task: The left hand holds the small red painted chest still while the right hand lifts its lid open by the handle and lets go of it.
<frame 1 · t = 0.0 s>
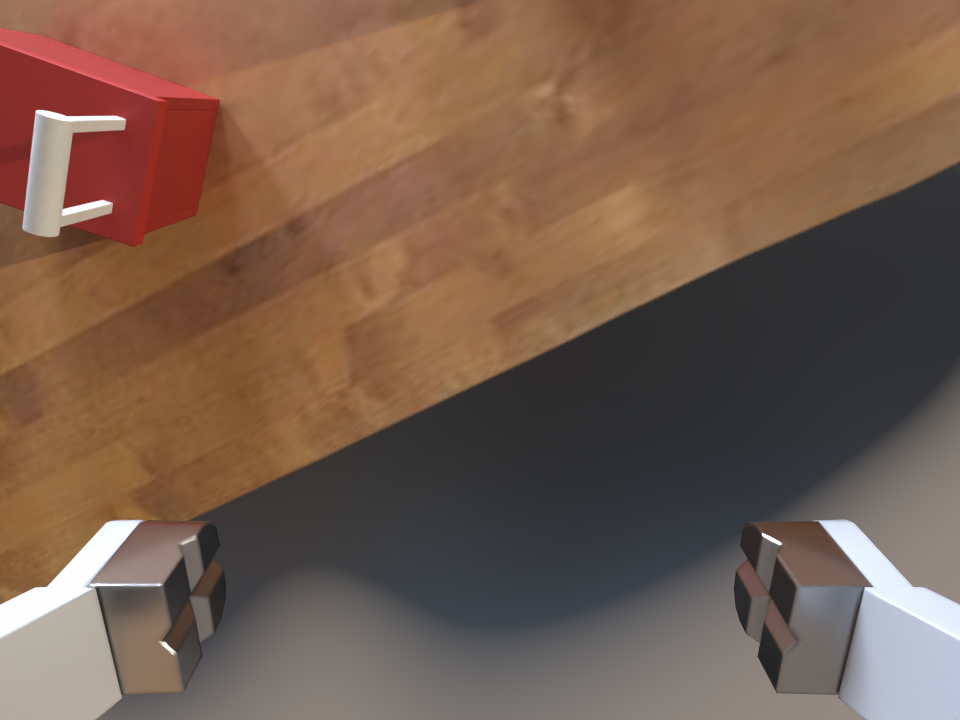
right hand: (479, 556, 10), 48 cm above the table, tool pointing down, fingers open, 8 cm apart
chest: (122, 129, 54), on the table
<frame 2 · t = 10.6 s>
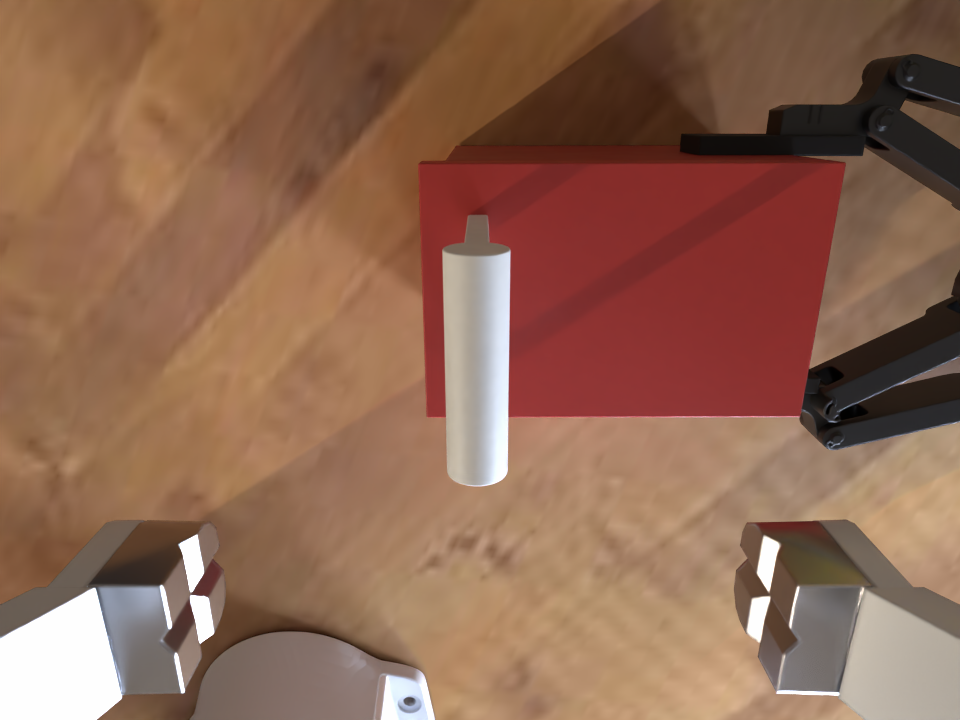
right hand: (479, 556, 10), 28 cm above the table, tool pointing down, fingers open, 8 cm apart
left hand: (677, 266, 30), fingers closed on chest, 9 cm apart
lid: (642, 325, 21), point 16 cm above the table, hinge at 0.0°
chest: (584, 238, 36), on the table, touching left hand
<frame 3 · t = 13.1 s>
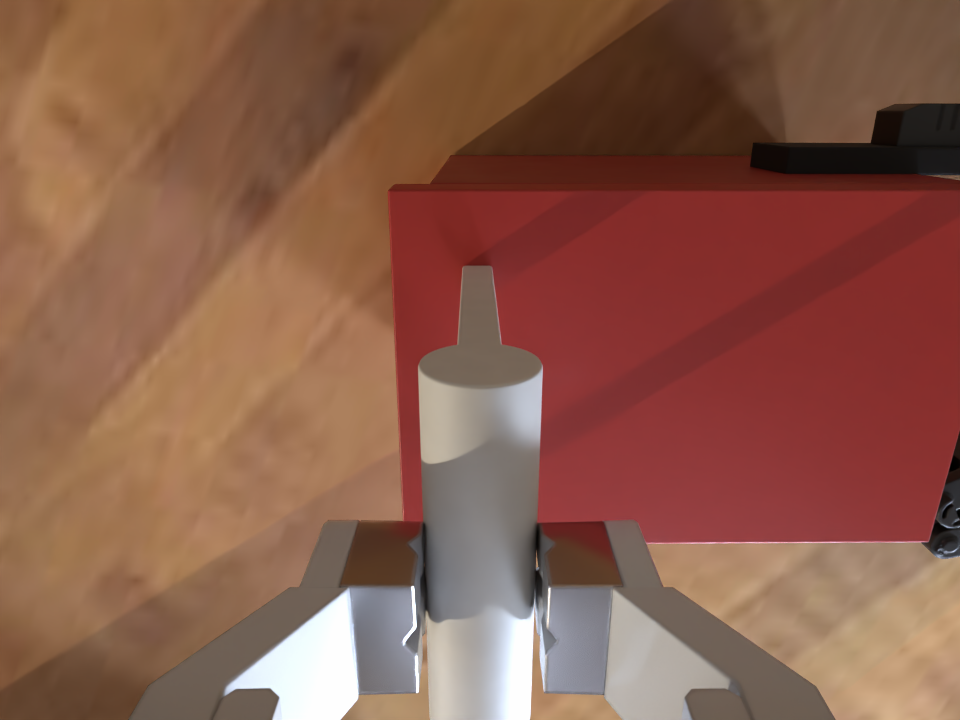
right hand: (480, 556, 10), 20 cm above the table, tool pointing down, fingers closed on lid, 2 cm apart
lid: (733, 444, 14), point 16 cm above the table, hinge at 0.9°, touching right hand
chest: (612, 271, 29), on the table, touching left hand
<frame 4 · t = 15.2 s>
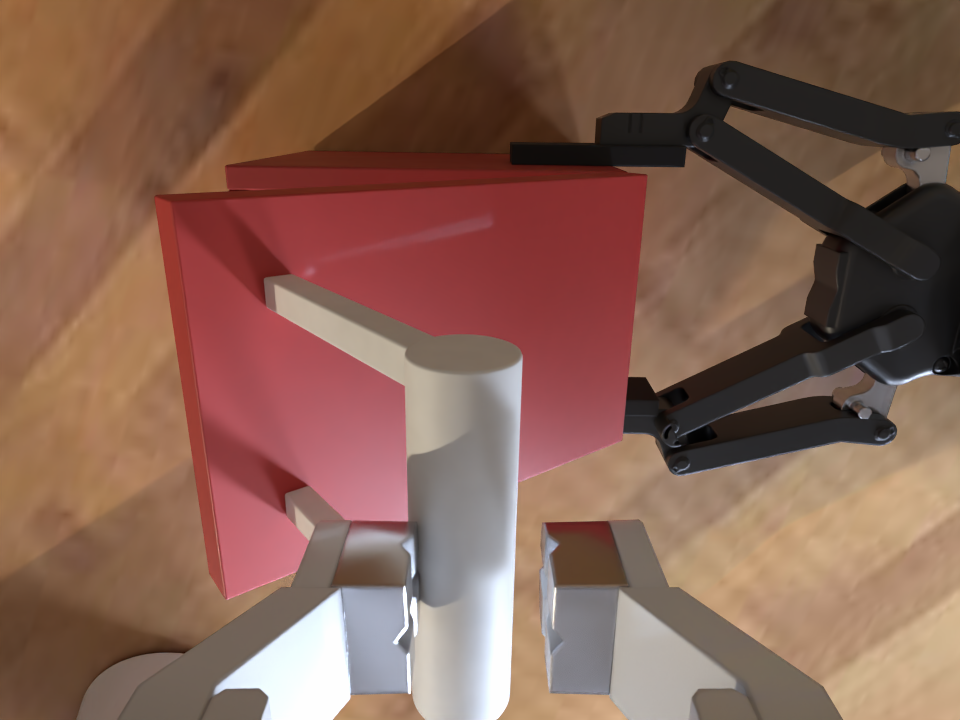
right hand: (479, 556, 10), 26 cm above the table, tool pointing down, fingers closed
left hand: (507, 281, 28), fingers closed on chest, 10 cm apart
lid: (544, 393, 17), point 19 cm above the table, hinge at 38.6°, touching right hand
chest: (445, 248, 35), on the table, touching left hand
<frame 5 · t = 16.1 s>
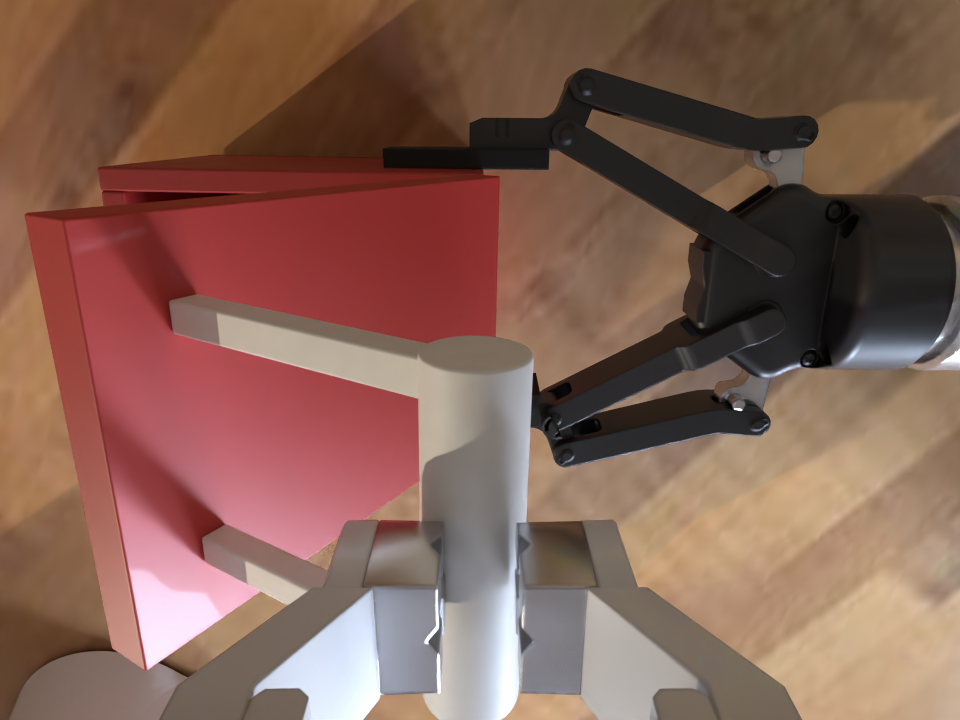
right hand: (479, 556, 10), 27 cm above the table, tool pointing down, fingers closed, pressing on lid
left hand: (392, 280, 29), fingers closed on chest, 10 cm apart
lid: (461, 391, 17), point 20 cm above the table, hinge at 58.0°, touching right hand
chest: (352, 250, 36), on the table, touching left hand
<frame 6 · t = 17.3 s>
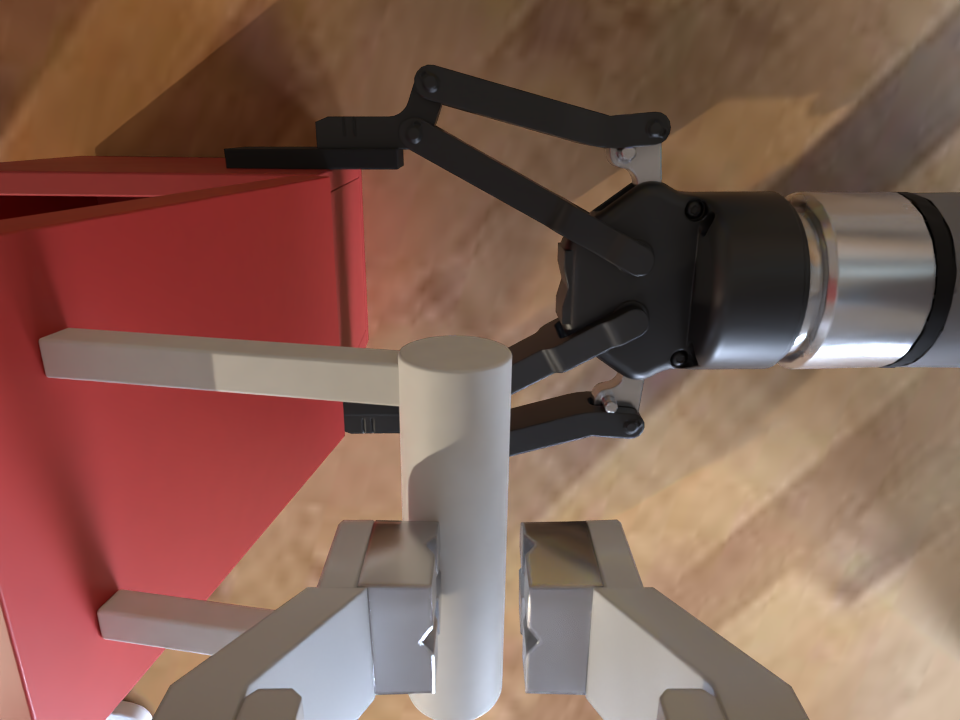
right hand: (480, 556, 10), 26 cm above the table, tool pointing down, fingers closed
left hand: (251, 284, 28), fingers closed on chest, 10 cm apart
lid: (354, 398, 17), point 20 cm above the table, hinge at 78.3°, touching right hand
chest: (232, 252, 35), on the table, touching left hand
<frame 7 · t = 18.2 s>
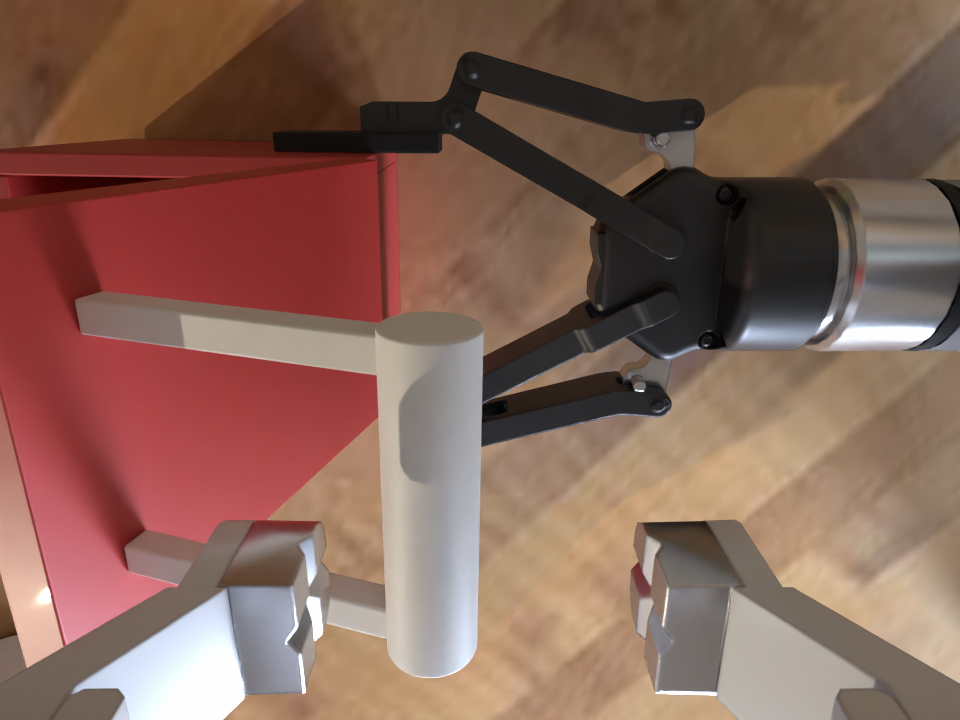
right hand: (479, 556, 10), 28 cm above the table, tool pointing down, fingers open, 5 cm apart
left hand: (294, 264, 29), fingers closed on chest, 10 cm apart
lid: (374, 371, 17), point 20 cm above the table, hinge at 71.7°
chest: (271, 234, 36), on the table, touching left hand
when the left hand's fingers open (7 cm above the table, at t = 21.4 s): chest stays where it is, on the table.
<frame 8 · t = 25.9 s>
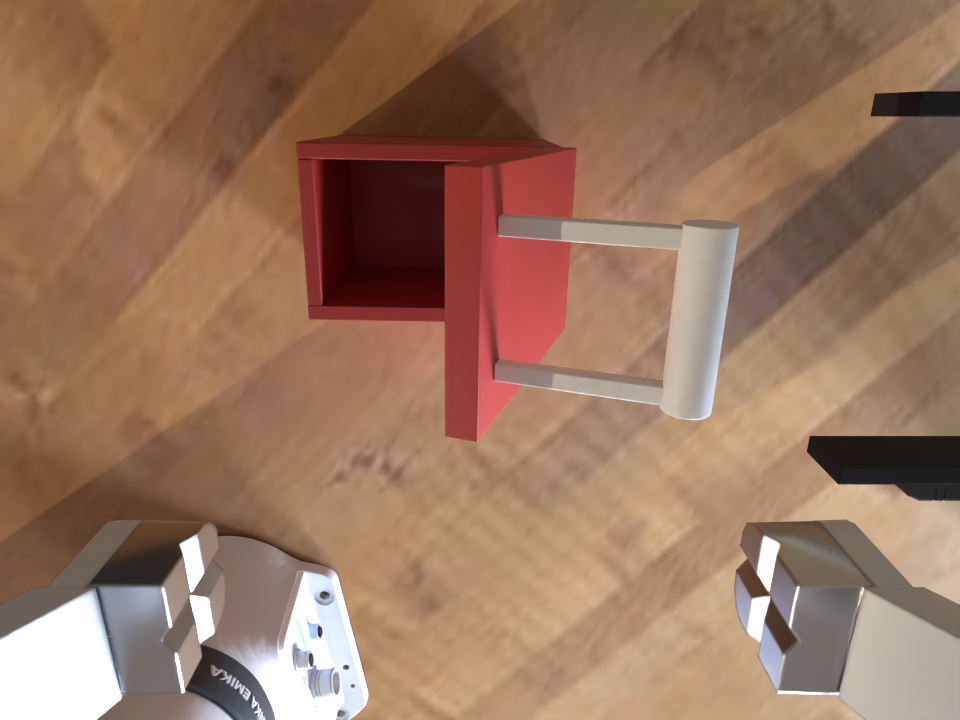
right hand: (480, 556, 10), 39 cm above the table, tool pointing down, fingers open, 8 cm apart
lid: (610, 277, 28), point 20 cm above the table, hinge at 70.9°
chest: (441, 209, 47), on the table
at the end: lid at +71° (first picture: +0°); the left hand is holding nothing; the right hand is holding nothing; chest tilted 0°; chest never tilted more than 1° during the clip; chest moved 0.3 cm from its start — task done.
